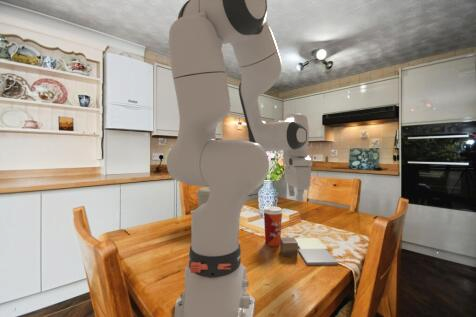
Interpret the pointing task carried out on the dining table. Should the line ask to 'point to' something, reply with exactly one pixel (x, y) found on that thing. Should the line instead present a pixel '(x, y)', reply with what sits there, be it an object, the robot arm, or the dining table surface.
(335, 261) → the pad
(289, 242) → the walnut cube
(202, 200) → the canister
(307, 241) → the pad
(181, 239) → the dining table surface
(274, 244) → the paper cup
